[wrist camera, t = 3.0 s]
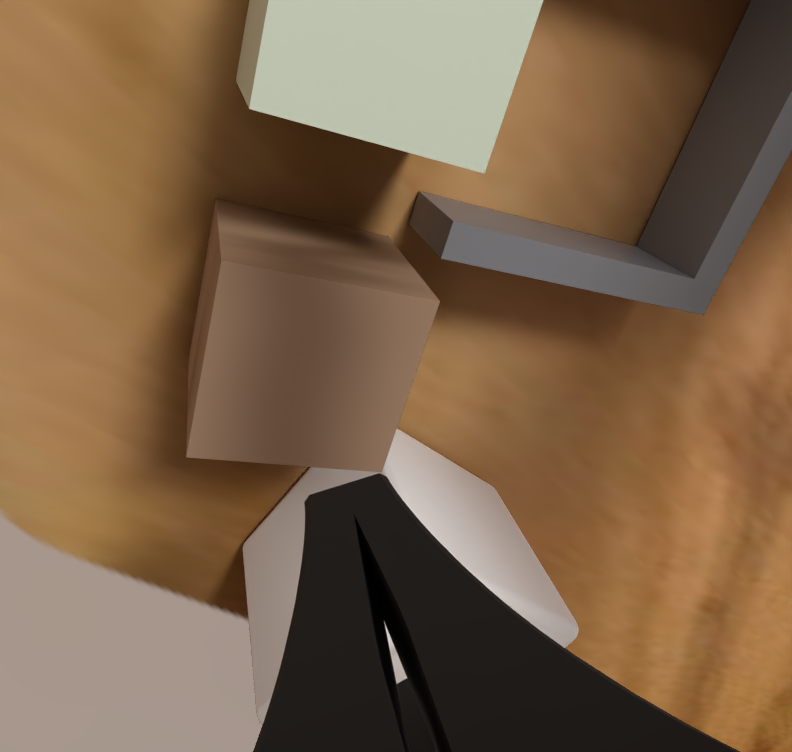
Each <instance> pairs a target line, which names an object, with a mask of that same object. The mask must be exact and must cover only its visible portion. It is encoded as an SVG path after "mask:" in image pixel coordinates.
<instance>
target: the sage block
mask: <svg viewBox="0 0 792 752" xmlns="http://www.w3.org/2000/svg"><path fill="white" fill-rule="evenodd" d="M542 3H543V0H249V5H248V11H247V17H246V23H245V29H244V35H243V41H242V47H241V53H240V59H239V65H238V71H237V77H236V82H237V84H238V86H239V89H240V91H241V93H242V95H243V97H244V99H245V101H246V103H247V106H248V108H249V109H251V110H255V111H259V112H262V113H266V114H269V115H273V116H277V117H280V118H284V119H288V120H291V121H295V122H299V123H302V124H306V125H310V126H313V127H317V128H321V129H324V130H328V131H331V132H335V133H339V134H342V135H346V136H350V137H353V138H357V139H361V140H364V141H368V142H372V143H375V144H379V145H383V146H386V147H390V148H393V149H397V150H401V151H404V152H408V153H412V154H415V155H419V156H423V157H426V158H430V159H434V160H437V161H441V162H445V163H448V164H452V165H455V166H459V167H463V168H466V169H470V170H474V171H477V172H481V173H485V170H486V167H487V164H488V162H489V159H490V156H491V153H492V150H493V147H494V144H495V141H496V138H497V135H498V132H499V129H500V126H501V123H502V120H503V117H504V115H505V112H506V109H507V106H508V103H509V100H510V97H511V94H512V91H513V88H514V85H515V82H516V79H517V76H518V73H519V71H520V68H521V65H522V62H523V59H524V56H525V53H526V50H527V47H528V44H529V41H530V38H531V35H532V32H533V29H534V26H535V24H536V21H537V18H538V15H539V12H540V9H541V6H542Z"/></svg>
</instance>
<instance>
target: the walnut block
mask: <svg viewBox="0 0 792 752" xmlns="http://www.w3.org/2000/svg"><path fill="white" fill-rule="evenodd" d="M439 303H440V300H439V299H438V298H437V297H436V295H435V294H434V293H433V292H432V290H431V289H430V288H429V287H428V285H427V284H426V283H425V282H424V280H423V279H422V278H421V277H420V275H419V274H418V273H417V272H416V271H415V269H414V268H413V267H412V266H411V264H410V263H409V262H408V261H407V259H406V258H405V257H404V256H403V254H402V253H401V252H400V251H399V249H398V248H397V247H396V246H395V244H394V243H393V242H392V241H391V239H390V238H389V237H388V236H385V235H380V234H376V233H371V232H367V231H362V230H358V229H353V228H349V227H344V226H339V225H335V224H330V223H326V222H321V221H317V220H312V219H308V218H303V217H299V216H294V215H289V214H285V213H280V212H276V211H271V210H267V209H262V208H258V207H253V206H249V205H244V204H239V203H235V202H230V201H226V200H221V199H217V198H216V199H215V205H214V211H213V216H212V222H211V228H210V234H209V240H208V246H207V252H206V258H205V264H204V270H203V276H202V282H201V288H200V294H199V300H198V306H197V312H196V318H195V324H194V330H193V336H192V342H191V348H190V354H189V360H188V401H187V445H186V457H188V458H201V459H214V460H227V461H240V462H253V463H266V464H278V465H291V466H304V467H317V468H330V469H343V470H356V471H369V472H382V471H383V468H384V465H385V462H386V459H387V456H388V453H389V450H390V447H391V444H392V441H393V438H394V435H395V432H396V430H397V427H398V424H399V421H400V418H401V415H402V412H403V409H404V406H405V403H406V400H407V397H408V394H409V391H410V388H411V386H412V383H413V380H414V377H415V374H416V371H417V368H418V365H419V362H420V359H421V356H422V353H423V350H424V347H425V345H426V342H427V339H428V336H429V333H430V330H431V327H432V324H433V321H434V318H435V315H436V312H437V309H438V306H439Z"/></svg>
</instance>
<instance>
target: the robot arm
mask: <svg viewBox="0 0 792 752" xmlns="http://www.w3.org/2000/svg"><path fill="white" fill-rule="evenodd" d="M304 505H305V533H304V545H303V554H302V563H301V569H300V575H299V581H298V588H297V594H296V600H295V605H294V610H293V615H292V619H291V624H290V628H289V632H288V637H287V641H286V645H285V650H284V654H283V658H282V662H281V665H280V669H279V673H278V676H277V680H276V684H275V687H274V690H273V694H272V697H271V700H270V703H269V707H268V710H267V713H266V716H265V719H264V722H263V726H262V728H261V731H260V734H259V737H258V740H257V742H256V746H255V748H254V751H253V752H410V749H409V744H408V739H407V734H406V729H405V724H404V719H403V714H402V709H401V704H400V699H399V694H398V689H397V684H396V678H395V673H394V668H393V663H392V658H391V653H390V648H389V643H388V638H387V633H386V628H385V625H386V627H387V630H388V632H389V634H390V637H391V639H392V642H393V644H394V647H395V649H396V652H397V654H398V657H399V659H400V662H401V664H402V667H403V669H404V671H405V674H406V676H407V679H408V681H409V684H410V686H411V689H412V691H413V694H414V696H415V698H416V701H417V703H418V706H419V708H420V711H421V713H422V716H423V718H424V721H425V723H426V725H427V728H428V730H429V733H430V735H431V738H432V740H433V743H434V745H435V748H436V751H437V752H740V751H738V750H736V749H734V748H732V747H730V746H728V745H726V744H724V743H722V742H720V741H718V740H716V739H714V738H712V737H711V736H709V735H707V734H705V733H703V732H701V731H699V730H698V729H696V728H694V727H692V726H690V725H688V724H686V723H685V722H683V721H681V720H679V719H677V718H676V717H674V716H672V715H671V714H669V713H667V712H665V711H664V710H662V709H660V708H658V707H657V706H655V705H653V704H652V703H650V702H648V701H646V700H645V699H643V698H641V697H639V696H638V695H636V694H634V693H633V692H631V691H630V690H628V689H627V688H625V687H623V686H622V685H620V684H619V683H617V682H616V681H614V680H613V679H611V678H609V677H608V676H606V675H605V674H603V673H602V672H600V671H599V670H597V669H595V668H594V667H592V666H591V665H589V664H588V663H586V662H585V661H583V660H581V659H580V658H578V657H577V656H575V655H574V654H572V653H571V652H569V651H568V650H567V649H565V648H564V647H562V646H561V645H560V644H558V643H557V642H556V641H554V640H553V639H551V638H550V637H549V636H547V635H546V634H544V633H543V632H542V631H540V630H539V629H538V628H536V627H535V626H534V625H533V624H531V623H530V622H529V621H527V620H526V619H525V618H523V617H522V616H521V615H520V614H518V613H517V612H516V611H515V610H513V609H512V608H511V607H510V606H508V605H507V604H506V603H505V602H504V601H502V600H501V599H500V598H499V597H498V596H496V595H495V594H494V593H493V592H492V591H491V590H489V589H488V588H487V587H486V586H485V585H484V584H483V583H482V582H481V581H479V580H478V579H477V578H476V577H475V576H474V575H473V574H472V573H471V572H469V571H468V570H467V569H466V568H465V567H464V566H463V565H462V564H461V563H460V562H459V561H458V560H457V559H456V558H455V557H454V556H453V555H452V554H451V553H450V552H449V551H448V550H447V549H446V548H445V547H444V546H443V545H442V544H441V543H440V542H439V541H438V540H437V539H436V538H435V537H434V536H433V535H432V534H431V532H430V531H429V530H428V529H427V528H426V527H425V526H424V525H423V524H422V523H421V521H420V520H419V519H418V518H417V517H416V516H415V514H414V513H413V512H412V511H411V510H410V508H409V507H408V506H407V505H406V503H405V502H404V501H403V500H402V498H401V497H400V496H399V494H398V493H397V492H396V490H395V489H394V487H393V486H392V484H391V483H390V481H389V479H388V478H387V476H385V475H383V474H380V473H378V474H375V475H372V476H368V477H365V478H362V479H359V480H356V481H352V482H349V483H346V484H343V485H339V486H336V487H333V488H330V489H327V490H323V491H320V492H317V493H314V494H310V495H309V496H308V497H307V499H306V500H305V502H304ZM384 622H385V623H384Z"/></svg>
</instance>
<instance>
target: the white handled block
mask: <svg viewBox="0 0 792 752" xmlns="http://www.w3.org/2000/svg"><path fill="white" fill-rule="evenodd" d="M378 473H380V474H383V475H385V476H387V478H388V479H389V481H390V483H391V484H392V486H393V487H394V489H395V490H396V492H397V493H398V494H399V496H400V497H401V498H402V500H403V501H404V502H405V503H406V505H407V506H408V507H409V508H410V510H411V511H412V512H413V513H414V514H415V516H416V517H417V518H418V519H419V520H420V521H421V523H422V524H423V525H424V526H425V527H426V528H427V529H428V530H429V531H430V532H431V534H432V535H433V536H434V537H435V538H436V539H437V540H438V541H439V542H440V543H441V544H442V545H443V546H444V547H445V548H446V549H447V550H448V551H449V552H450V553H451V554H452V555H453V556H454V557H455V558H456V559H457V560H458V561H459V562H460V563H461V564H462V565H463V566H464V567H465V568H466V569H467V570H468V571H469V572H471V573H472V574H473V575H474V576H475V577H476V578H477V579H478V580H479V581H481V582H482V583H483V584H484V585H485V586H486V587H487V588H488V589H489V590H491V591H492V592H493V593H494V594H495V595H496V596H498V597H499V598H500V599H501V600H502V601H504V602H505V603H506V604H507V605H508V606H510V607H511V608H512V609H513V610H515V611H516V612H517V613H518V614H520V615H521V616H522V617H523V618H525V619H526V620H527V621H529V622H530V623H531V624H533V625H534V626H535V627H536V628H538V629H539V630H540V631H542V632H543V633H544V634H546V635H547V636H549V637H550V638H551V639H553V640H554V641H556V642H557V643H558V644H560V645H561V646H562V647H564V648H566V647H567V646H568V645H569V644H570V643H571V642H572V641H573V640H574V639H575V638H576V637H577V635H578V631H579V628H578V625H577V622H576V621H575V619H574V617H573V616H572V614H571V612H570V611H569V609H568V608H567V606H566V604H565V603H564V601H563V599H562V598H561V596H560V594H559V593H558V591H557V589H556V588H555V586H554V585H553V583H552V581H551V580H550V578H549V576H548V575H547V573H546V571H545V570H544V568H543V566H542V565H541V563H540V562H539V560H538V558H537V557H536V555H535V553H534V552H533V550H532V548H531V547H530V545H529V543H528V542H527V540H526V539H525V537H524V535H523V534H522V532H521V530H520V529H519V527H518V525H517V524H516V522H515V520H514V519H513V517H512V516H511V514H510V512H509V511H508V509H507V507H506V506H505V504H504V502H503V501H502V499H501V497H500V496H499V494H498V493H497V491H496V490H495V488H494V487H493V486H491V485H490V484H488V483H486V482H485V481H483V480H481V479H480V478H478V477H476V476H475V475H473V474H471V473H470V472H468V471H467V470H465V469H463V468H462V467H460V466H458V465H457V464H455V463H453V462H452V461H450V460H448V459H447V458H445V457H443V456H442V455H440V454H438V453H437V452H435V451H433V450H432V449H430V448H428V447H427V446H425V445H424V444H422V443H420V442H419V441H417V440H415V439H414V438H412V437H410V436H409V435H407V434H405V433H404V432H402V431H400V430H399V429H397V430H396V432H395V435H394V438H393V441H392V444H391V447H390V450H389V453H388V456H387V459H386V462H385V465H384V468H383V471H382V472H369V471H356V470H343V469H330V468H317V467H310V468H309V469H308V471H307V472H306V473H305V474H304V475H303V476H302V477H301V479H300V480H299V481H298V482H297V483H296V484H295V485H294V487H293V488H292V489H291V490H290V491H289V492H288V493H287V494H286V496H285V497H284V498H283V499H282V500H281V501H280V502H279V504H278V505H277V506H276V507H275V508H274V509H273V510H272V512H271V513H270V514H269V515H268V516H267V517H266V518H265V519H264V521H263V522H262V523H261V524H260V525H259V526H258V527H257V529H256V530H255V531H254V532H253V533H252V534H251V535H250V537H249V538H248V539H247V540H246V541H245V543H244V545H243V559H244V571H245V583H246V595H247V606H248V618H249V630H250V641H251V654H252V665H253V677H254V687H255V688H254V689H255V701H256V712H257V716H258V719H259V721H260V723H261V724H263V722H264V719H265V716H266V713H267V710H268V707H269V703H270V700H271V697H272V694H273V690H274V687H275V684H276V680H277V676H278V673H279V669H280V665H281V662H282V658H283V654H284V650H285V645H286V641H287V637H288V632H289V628H290V624H291V619H292V615H293V610H294V605H295V600H296V594H297V588H298V581H299V575H300V569H301V563H302V554H303V545H304V533H305V505H304V502H305V500H306V499H307V497H308V496H309V495H310V494H314V493H317V492H320V491H323V490H327V489H330V488H333V487H336V486H339V485H343V484H346V483H349V482H352V481H356V480H359V479H362V478H365V477H368V476H372V475H375V474H378ZM384 623H385V622H384ZM385 628H386V633H387V638H388V643H389V648H390V653H391V658H392V663H393V668H394V673H395V678H396V684H397V689H398V694H399V699H400V704H401V709H402V714H403V719H404V724H405V729H406V734H407V739H408V744H409V749H410V752H437V751H436V748H435V745H434V743H433V740H432V738H431V735H430V733H429V730H428V728H427V725H426V723H425V721H424V718H423V716H422V713H421V711H420V708H419V706H418V703H417V701H416V698H415V696H414V694H413V691H412V689H411V686H410V684H409V681H408V679H407V676H406V674H405V671H404V669H403V667H402V664H401V662H400V659H399V657H398V654H397V652H396V649H395V647H394V644H393V642H392V639H391V637H390V634H389V632H388V630H387V627H386V625H385Z"/></svg>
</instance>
